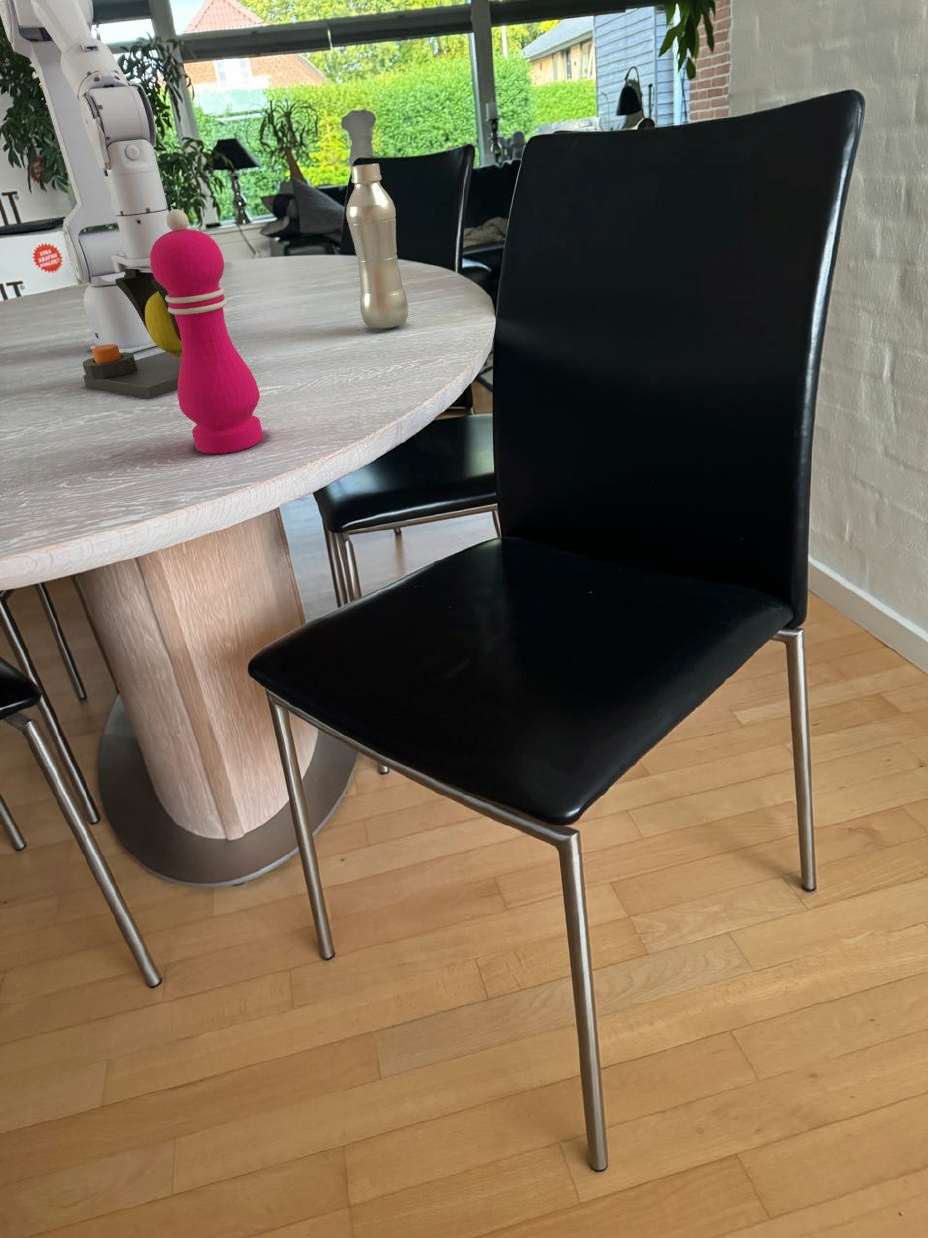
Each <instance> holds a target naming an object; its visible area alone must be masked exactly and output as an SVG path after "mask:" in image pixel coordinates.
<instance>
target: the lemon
mask: <svg viewBox="0 0 928 1238" xmlns="http://www.w3.org/2000/svg"><path fill="white" fill-rule="evenodd" d="M145 321H146V326H147V330H148V332H149V335H150V337H151V339H152V340H153V342H154V343H155V344H156V345H157V346H156V347H158V348H159V349H161V350H162V351H163V352H170V353H172V354H173V355H174V356H176V357H181V356H182V341H180V340H179V338H178V336H177V334H176V331H175V329H174V326H173V323H172V320H171V317H170V314H169V311H168V309H167V307H166V305H165V303H164V301H163V299H162V297H161V295H160V294H159V292H158V291H157V292H156V293H155V294H153V295H152V296H151V297H150V298H149V300H148V301H147V304H146V307H145Z"/></svg>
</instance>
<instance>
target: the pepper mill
mask: <svg viewBox="0 0 928 1238" xmlns="http://www.w3.org/2000/svg"><path fill="white" fill-rule="evenodd" d="M166 222H167V225H168V227H169V228H170V229H171V230H172V231H171V232H168V233H166V234H164V235H162V236H161V237H160V238H158V240H157V241H156V242H155V243H154V245H153V246H152V250H151V253H150V265H151V270H152V273H153V276H154V277H155V279H156V280H157V281H158V282H159V283H160V284H161V285H162V286H163V287H164V288H165V289H166V290H167V291H168V293H169V294H168V295H167V296H166V297H165V300H166V301H167V302H168V306H169V308H168V311H169V312H170V313H172V314H174V315H175V318H176V321H177V324H178V327H179V330H180V335H181V340H182V361H181V367H180V372H179V378H178V390H177V391H176V392H177V399H178V406H179V409H180V411H181V413H182V414H183V415H184V416H185V417H186V418H187V419H189V420H190V421H192V422H193V423H194V424H195V426H194V427H193V428H192V430H191V433H192V437H193V442H194V446H195V448H196V450H197V451H199V452H200V453H204V454H208V455H209V454H210V455H220V454H230V453H235V452H239V451H243V450H247V449H249V448H252V447H254V446H256V445H258V444H259V443H260V442H261V441H263V439H264V433H263V428H262V423H261V420H260V418H259V417H257V416H256V415H254V411H255V410H256V408H257V406H258V404H259V401H260V398H261V394H260V390H259V387H258V384H257V380H256V378H255V377H254V375H253V373H252V371H251V369H250V368H249V366H248V365H247V363H246V362H245V361H244V359H243V358H242V356H241V355H240V353H239V352H238V350H237V348H236V346H235V345H234V344H233V342H232V339H231V337H230V335H229V332H228V328H227V325H226V324H227V323H226V321H225V313H224V307H225V306H226V305H227V304H228V301H227V300H226V299H225V295H224V294H225V289H224V288H223V287H221V286H219V285H220V281H221V279H222V276H223V275H224V272H225V260H224V256H223V253H222V251H221V249H220V247H219V245H218V244H217V241H215V239H213V238H212V237H211V236H210V235H208V234H207V233H205V232H202V231H199V230H196V229H188V227H189V223H190V221H189V218H188V215H187V214H186V212H184V211H183V210H181V209H178V208H176V209H171V210H169V213H168V214H167V217H166Z"/></svg>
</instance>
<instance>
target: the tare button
mask: <svg viewBox="0 0 928 1238" xmlns="http://www.w3.org/2000/svg"><path fill="white" fill-rule="evenodd" d="M91 353H92V356H93V357H94V359H95V362H96V363H105V362H110V361H115V360H118V359H121V355H120V352H119V348H118V345H116V344H108V345H102V346H98V347H95V348H93V349H91Z"/></svg>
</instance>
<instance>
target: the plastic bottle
mask: <svg viewBox="0 0 928 1238" xmlns="http://www.w3.org/2000/svg"><path fill="white" fill-rule="evenodd" d="M350 174H351V178H350V179H351V180H350V181H351V183H352V184H354V189H353V190H352V193H351V195H350V197H349V200H348V203H347V204H346V209H345V210H346V211H345V216H346V220H347V221H346V222H347V223H348V228H349V231H350V235H351V239H352V242H353V246H354V251H355V254H356V255H355V256H356V258H357V265H358V274H359V287H360V295H359V298H360V299H359V304H360V305H359V306H360V314H361V319H362V321H363V322H364V324H365V325H366V326H367V327H368V328H371V329H377V330H391V329H394V328H395V327H398V326H400V325H403V324H405V323H406V322H407V319H408V317H409V302H408V300H407V295H406V293H405V289H403V288H404V286H403V281H402V277H401V272H400V267H399V261H398V255H397V252H398V248H397V218H396V217H397V214H396V207H395V204H394V201H393V199H392V198H391V197H390V195H389V193H388V192H387V191H386V189H384V188H383V186H382V185H381V182H380V181H381V180H382V179H383V178H382V175H381V169H380V164H379V163H368V164H367V163H366V164H359V165H352V166H350Z"/></svg>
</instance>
